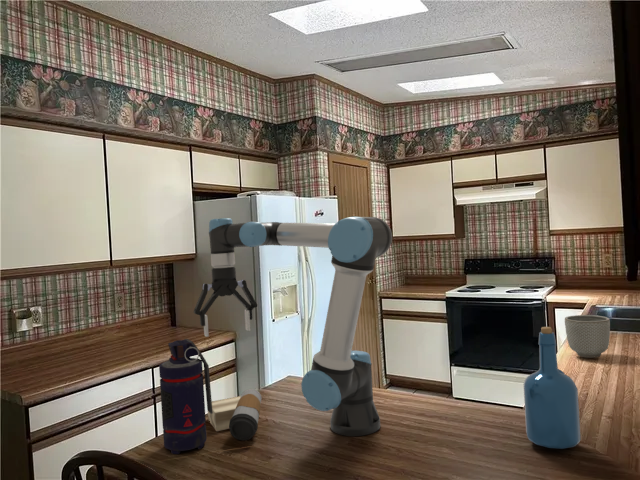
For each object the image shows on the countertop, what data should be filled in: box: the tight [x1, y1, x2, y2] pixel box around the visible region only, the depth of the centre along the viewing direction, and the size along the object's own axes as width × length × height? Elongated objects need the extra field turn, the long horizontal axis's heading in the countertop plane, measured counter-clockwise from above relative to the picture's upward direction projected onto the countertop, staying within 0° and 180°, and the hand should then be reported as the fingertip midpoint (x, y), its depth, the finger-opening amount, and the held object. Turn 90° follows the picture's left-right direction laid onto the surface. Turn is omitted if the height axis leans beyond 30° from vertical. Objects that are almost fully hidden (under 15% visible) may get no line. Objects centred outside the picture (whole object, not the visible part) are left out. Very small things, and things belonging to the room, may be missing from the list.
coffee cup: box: [228, 388, 262, 441], centre depth 154 cm, size 8×8×15 cm
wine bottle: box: [523, 326, 581, 450], centre depth 136 cm, size 14×13×30 cm
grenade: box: [158, 338, 213, 455], centre depth 147 cm, size 14×12×30 cm
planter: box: [564, 314, 611, 359], centre depth 221 cm, size 17×17×16 cm
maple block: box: [207, 395, 241, 432], centre depth 165 cm, size 12×12×6 cm
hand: (227, 333), depth 165 cm, fingers open, 13 cm apart
